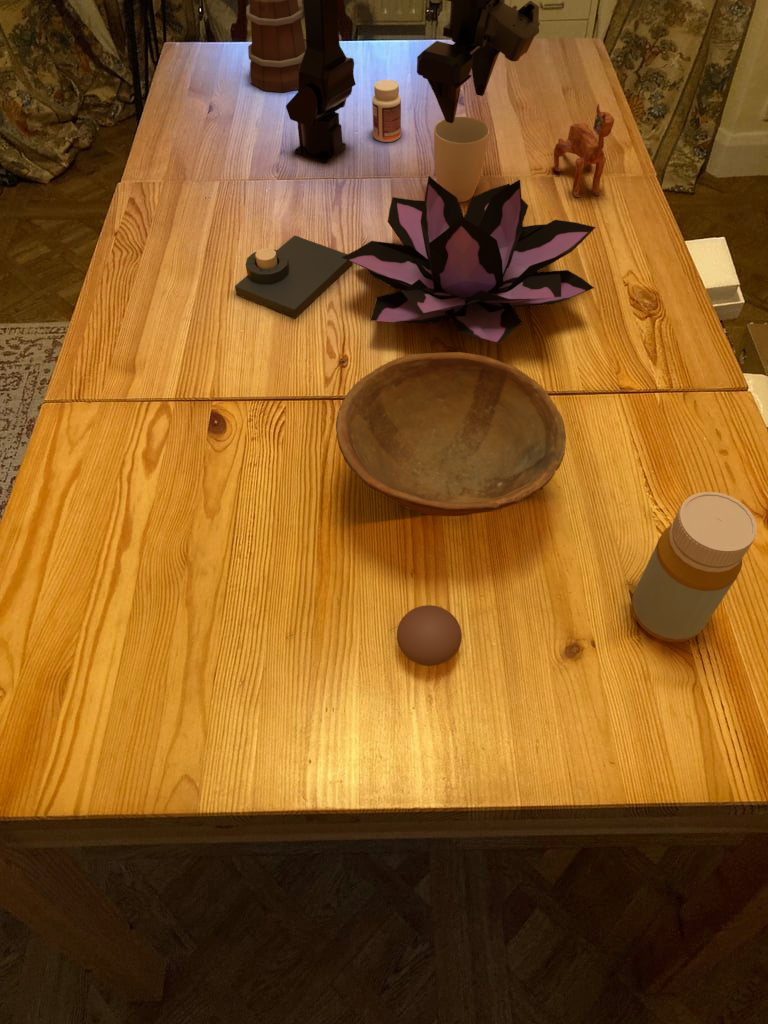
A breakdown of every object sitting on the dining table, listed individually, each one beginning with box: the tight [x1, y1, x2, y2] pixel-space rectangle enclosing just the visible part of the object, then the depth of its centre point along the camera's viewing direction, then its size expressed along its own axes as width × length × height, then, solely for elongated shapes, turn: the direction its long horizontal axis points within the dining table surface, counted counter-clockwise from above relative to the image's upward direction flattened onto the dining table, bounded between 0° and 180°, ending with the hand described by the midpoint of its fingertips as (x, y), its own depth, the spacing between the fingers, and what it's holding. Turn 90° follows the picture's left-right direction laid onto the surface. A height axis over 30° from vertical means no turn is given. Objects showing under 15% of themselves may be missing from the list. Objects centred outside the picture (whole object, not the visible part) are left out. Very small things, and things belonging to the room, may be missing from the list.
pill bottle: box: [372, 79, 402, 143], centre depth 128 cm, size 5×5×8 cm
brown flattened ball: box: [396, 604, 463, 667], centre depth 71 cm, size 6×6×4 cm
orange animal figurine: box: [553, 103, 615, 198], centre depth 118 cm, size 18×7×14 cm, turn 9°
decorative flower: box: [341, 175, 596, 344], centre depth 99 cm, size 32×32×15 cm
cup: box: [433, 115, 490, 203], centre depth 116 cm, size 8×8×10 cm
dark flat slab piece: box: [234, 235, 353, 319], centre depth 106 cm, size 11×14×3 cm
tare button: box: [255, 247, 277, 269], centre depth 105 cm, size 3×3×2 cm
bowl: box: [335, 351, 567, 517], centre depth 80 cm, size 22×23×10 cm
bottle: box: [630, 491, 758, 643], centre depth 68 cm, size 7×7×15 cm
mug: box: [245, 0, 306, 93], centre depth 140 cm, size 16×12×15 cm
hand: (465, 108), depth 108 cm, fingers open, 9 cm apart
